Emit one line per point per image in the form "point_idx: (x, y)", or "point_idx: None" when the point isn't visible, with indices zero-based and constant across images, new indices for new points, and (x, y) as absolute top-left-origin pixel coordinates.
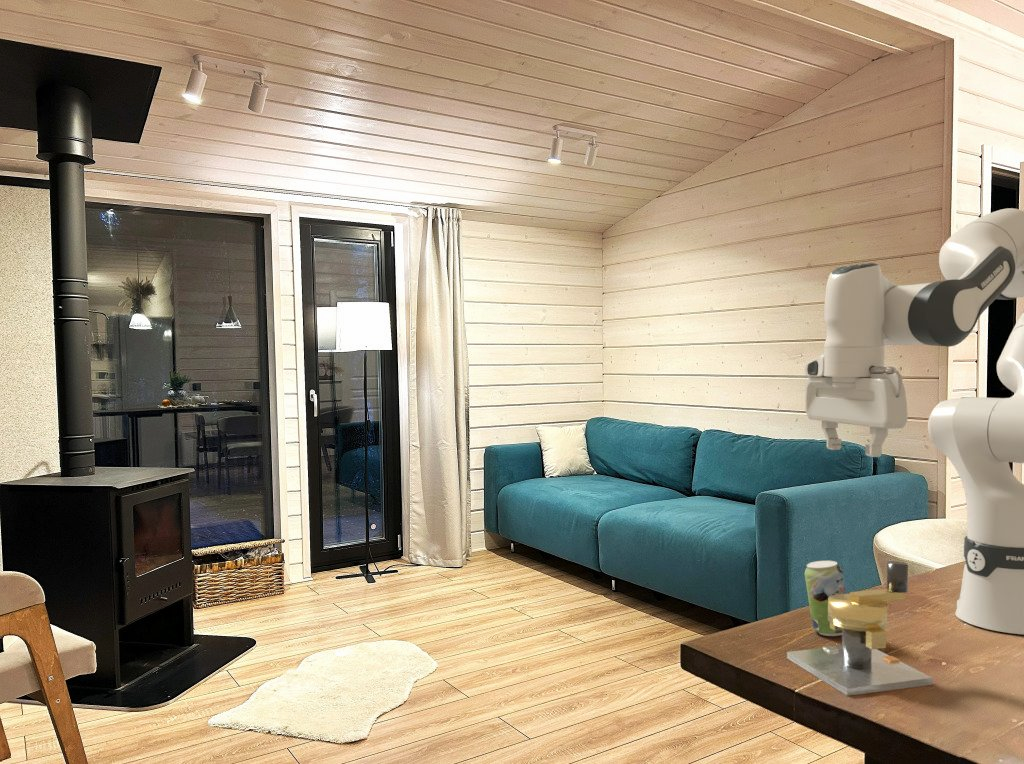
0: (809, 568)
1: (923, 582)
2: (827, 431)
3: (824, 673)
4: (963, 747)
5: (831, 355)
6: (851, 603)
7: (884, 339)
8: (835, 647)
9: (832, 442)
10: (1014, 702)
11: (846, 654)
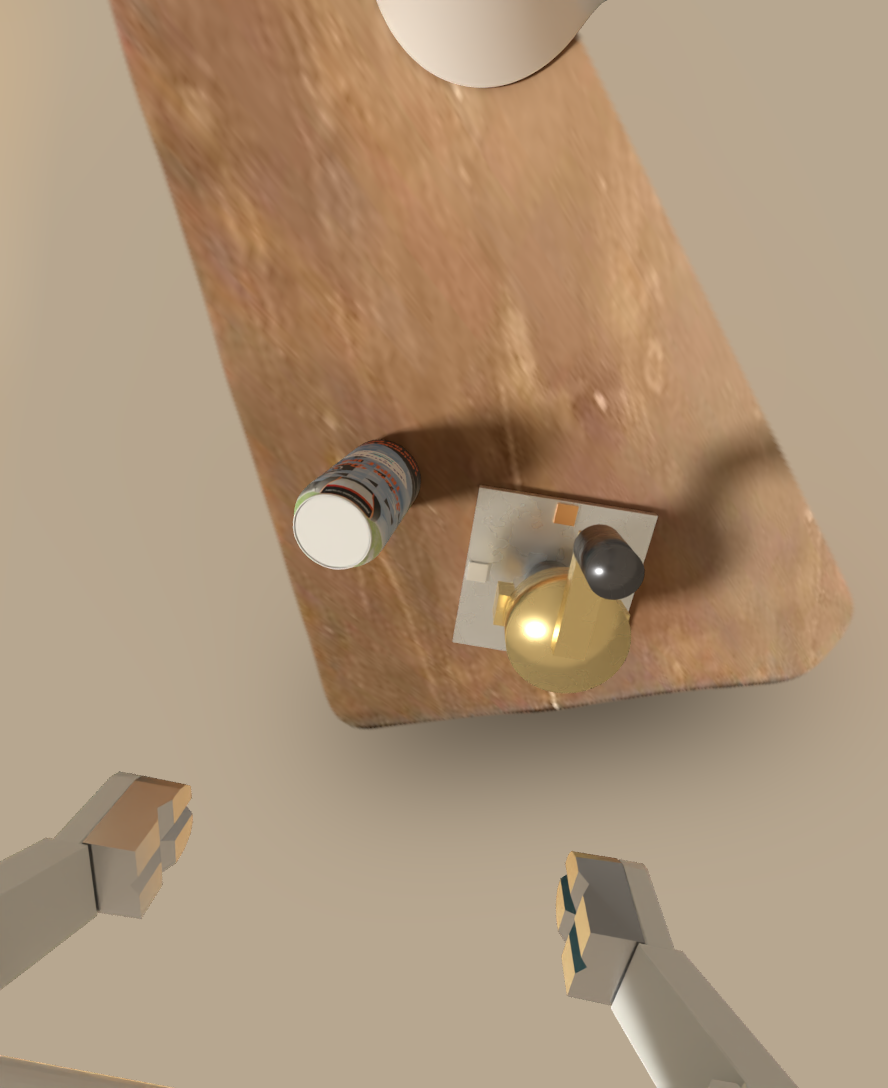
0: (331, 566)
1: None
2: (10, 971)
3: None
4: (803, 652)
5: None
6: (569, 659)
7: None
8: (472, 555)
9: (156, 887)
10: (778, 448)
11: None
